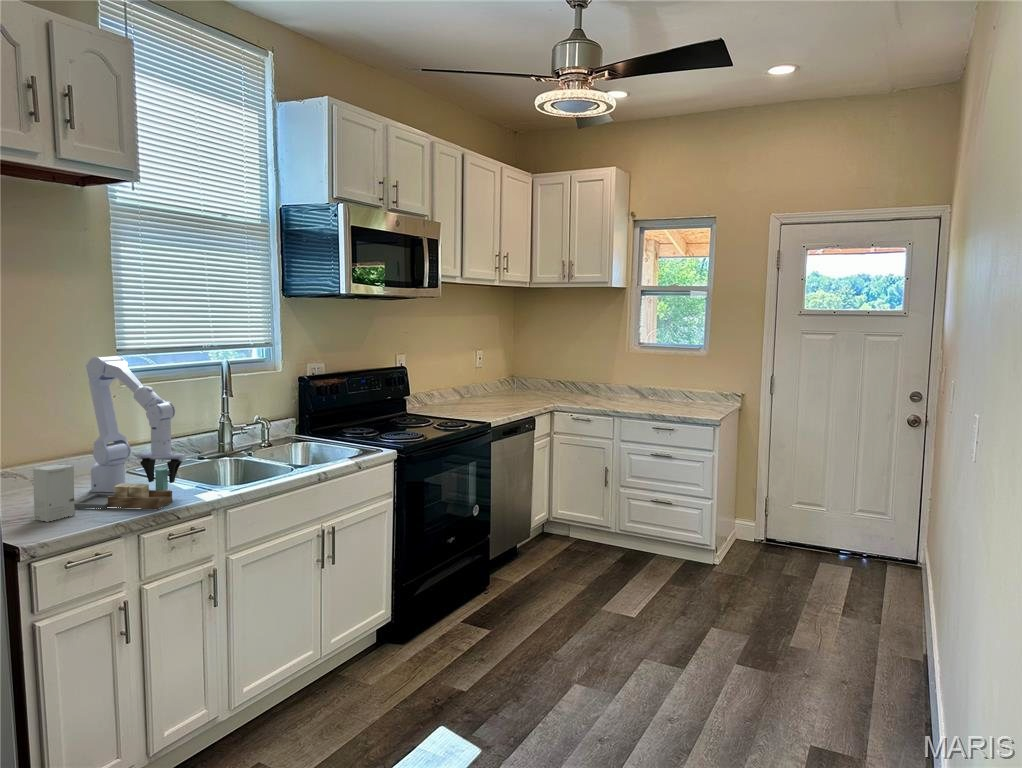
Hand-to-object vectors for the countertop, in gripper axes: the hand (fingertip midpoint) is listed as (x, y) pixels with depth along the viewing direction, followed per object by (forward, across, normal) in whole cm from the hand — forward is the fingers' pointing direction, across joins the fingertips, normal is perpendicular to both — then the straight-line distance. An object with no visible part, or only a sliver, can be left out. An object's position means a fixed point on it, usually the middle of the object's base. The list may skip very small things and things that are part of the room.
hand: (161, 481), depth 221 cm
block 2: (+3, -2, -10) cm, 11 cm away
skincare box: (+5, -18, -25) cm, 31 cm away
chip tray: (+5, -14, -10) cm, 18 cm away
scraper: (+5, 0, 0) cm, 5 cm away
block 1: (+3, -6, -10) cm, 12 cm away
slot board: (+5, -2, -10) cm, 11 cm away
